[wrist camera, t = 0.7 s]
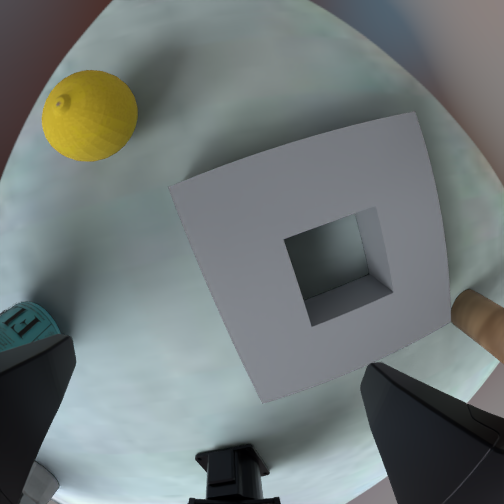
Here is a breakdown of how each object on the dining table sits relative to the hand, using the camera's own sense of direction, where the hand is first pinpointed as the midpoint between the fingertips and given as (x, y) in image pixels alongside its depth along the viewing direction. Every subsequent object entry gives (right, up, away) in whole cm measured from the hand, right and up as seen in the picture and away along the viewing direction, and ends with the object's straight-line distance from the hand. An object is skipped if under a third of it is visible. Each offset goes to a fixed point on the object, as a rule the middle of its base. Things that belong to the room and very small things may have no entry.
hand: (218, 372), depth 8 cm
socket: (+6, +3, +14) cm, 15 cm away
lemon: (-9, +12, +11) cm, 19 cm away
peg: (+22, -2, +16) cm, 27 cm away
